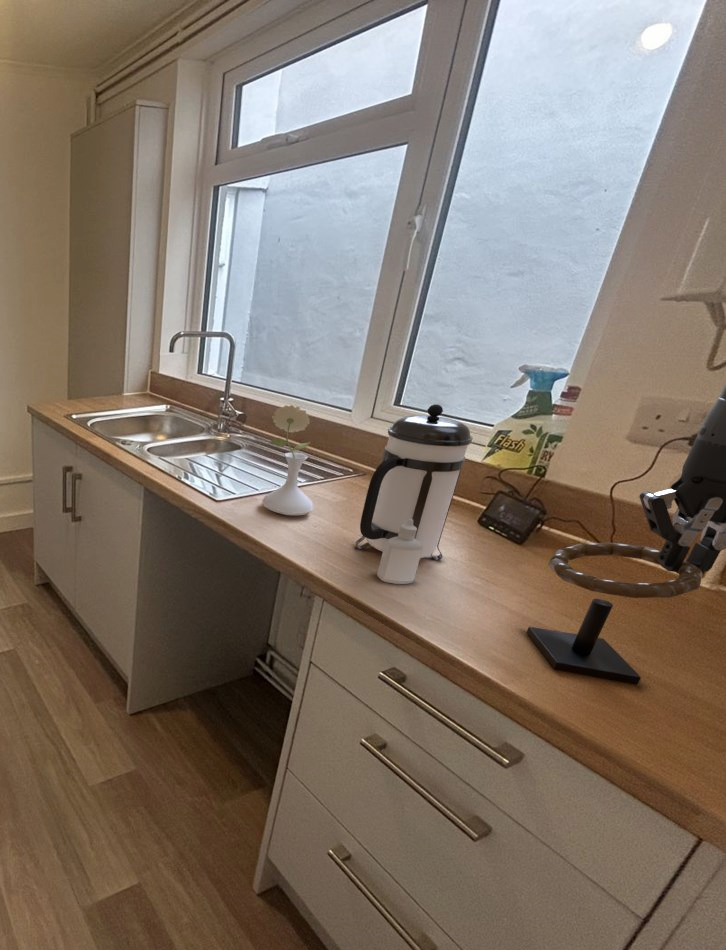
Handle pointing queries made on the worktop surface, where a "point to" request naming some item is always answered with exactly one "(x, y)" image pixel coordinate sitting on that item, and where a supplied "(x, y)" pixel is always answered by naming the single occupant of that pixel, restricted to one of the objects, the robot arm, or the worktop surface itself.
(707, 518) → the robot arm
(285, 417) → the flower in vase
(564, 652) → the stand
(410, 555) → the eye dropper bottle
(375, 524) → the coffee press
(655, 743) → the worktop surface
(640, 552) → the ring
